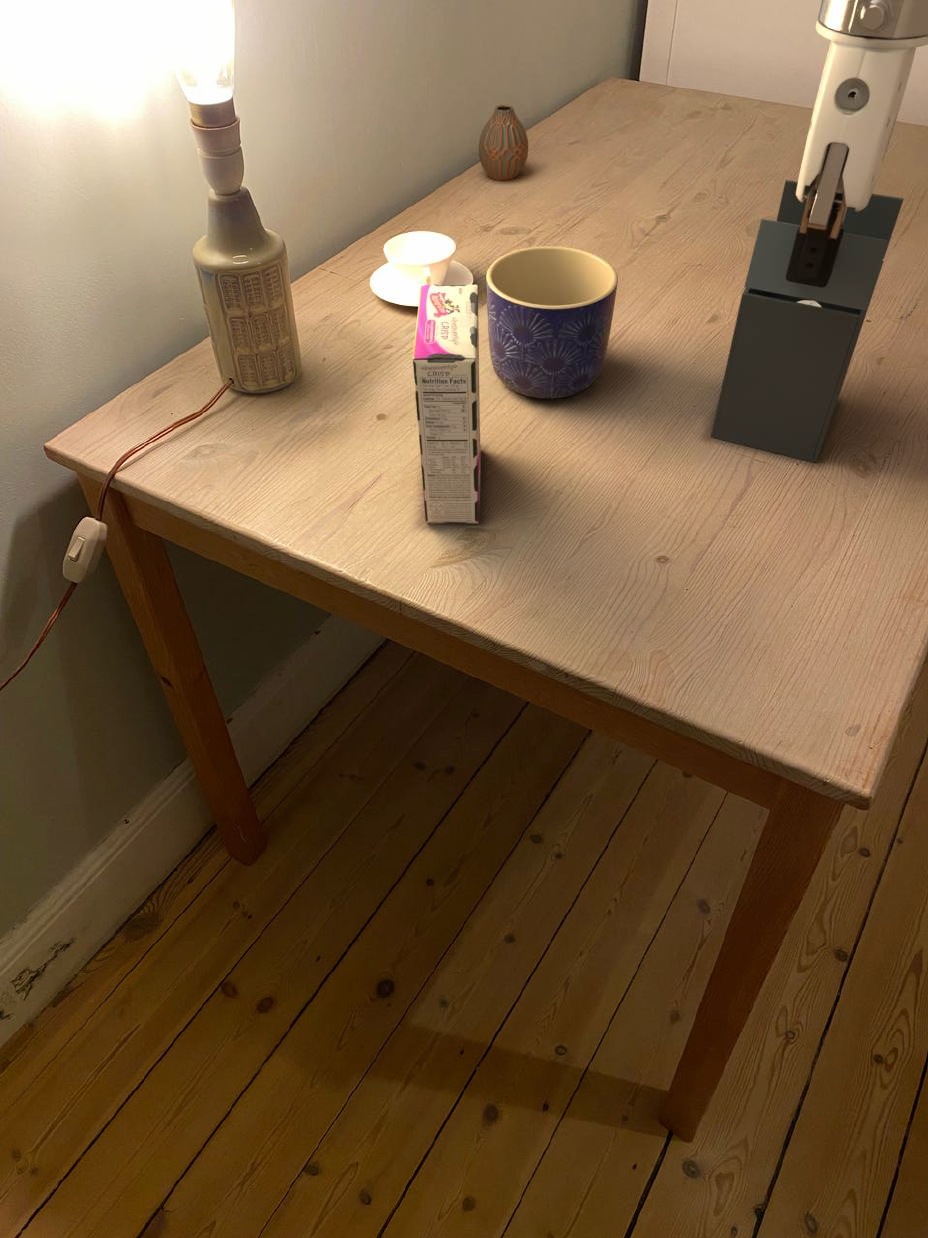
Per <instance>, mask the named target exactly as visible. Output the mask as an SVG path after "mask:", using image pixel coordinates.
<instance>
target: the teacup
mask: <svg viewBox="0 0 928 1238" xmlns="http://www.w3.org/2000/svg"><path fill="white" fill-rule="evenodd" d="M456 250H457V244H456V243H455V241H454V240H453V239H452V238H451V237H449V236H447V235H446V234H442V233H438V232H433V231H410V232H406V233H401V234H399V235H396V236H394V237H391V239H389V240H388V241H387V242H386V243H384V248H383V252H384V255H385V257H386V259H387V261H388V262H387V263H386V264H384V265H382V266H380V267H379V268H377V269H376V270H375V271H374V272H373V274H372V275H371V277H370V278H369V286H370V289H371V290H372V292H373V293H374V294H375V295H376V296H377V297H379V299H382V300H384V301H386V302H389V303H393V304H396V305H400V306H407V307H418V305H419V292H420V286H424V285H432V284H436V285H439V286H441V285H474V284H473V283H474V277H473V273H472V271H470V269H469V268H468V267H466V266H465V265H464V264H462V263H460V262H458V261H456V260H453V258H454V256H455V253H456V252H457V251H456Z"/></svg>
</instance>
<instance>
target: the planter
mask: <svg viewBox="0 0 928 1238" xmlns="http://www.w3.org/2000/svg"><path fill="white" fill-rule="evenodd" d="M485 278H486V279H485V280H486V304H487V305H486V306H487V307H486V308H487V309H486V310H487V333H488V347H489V354H490V355H489V356H490V361H491V365H492V368H493V371H494V373H495V375H496V377H497V378H498V379H499V380H500V382H502V384H503V385H505V386H506V387H508V388H509V389H511V390H512V391H514V392H516V393H518V394H521V395H524V396H526V397H530V398H536V399H537V398H538V399H559V398H565V397H570V396H572V395H576V394H578V393H580V392H581V391H583V390H585V389H587V388H589V387H590V385H592V384H593V383H594V382H595V381H596V379H597V378H598V376H599V375H600V373H601V371H602V368H603V366H604V362H605V359H606V356H607V351H608V347H609V342H610V341H609V340H610V336H611V329H612V322H613V317H614V310H615V304H616V297H617V289H618V285H619V284H618V283H619V275H618V273H617V270H616V268H615V267H614V266H613V265H612V264H611V263H610V262H608V261H607V260H606V259H604V258H603V257H601V256H599V255H597V254H595V253H593V252H590V251H587V250H583V249H580V248H575V247H570V246H559V245H541V246H530V247H525V248H520V249H516V250H513V251H511V252H508V253H506V254H504V255H502V256H499V258H497V259H496V260H495V261H493V262H492V263H491V265H490V266H489V267H488V269H487V271H486V277H485Z"/></svg>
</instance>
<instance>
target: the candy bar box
mask: <svg viewBox="0 0 928 1238" xmlns="http://www.w3.org/2000/svg"><path fill="white" fill-rule="evenodd" d="M417 307H418V308H417V317H416V323H415V324H416V325H415V334H414V342H413V351H412V366H413V379H414V389H415V390H414V391H415V393H414V395H415V406H416V419H417V430H418V431H417V432H418V437H419V438H418V440H419V441H418V442H419V451H420V453H419V454H420V465H421V478H422V479H421V480H422V493H423V505H424V506H423V507H424V519H425V520H424V521H425V523H426V524H430V525H452V524H453V525H454V524H455V525H456V524H461V525H478V524H480V512H481V511H480V509H481V508H480V507H481V506H480V505H481V470H482V469H481V468H482V467H481V465H482V464H481V459H482V458H481V455H482V453H481V450H482V449H481V447H482V445H481V412H480V411H481V408H480V406H481V405H480V401H481V400H480V333H479V331H480V329H479V326H480V325H479V322H480V321H479V286H478V284H472V285H441V286H439V285H436V284H432V285H424V286H420V292H419V305H418V306H417Z"/></svg>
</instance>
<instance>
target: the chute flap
mask: <svg viewBox="0 0 928 1238" xmlns="http://www.w3.org/2000/svg"><path fill="white" fill-rule="evenodd" d="M758 226H759V227H758V231H757V235H756V238H755V243H754V246H753V250H752V255H751V258H750V261H749V266H748V269H747V274H746V278H745V282H744V285H743V287H744V288H751V289H757V290H762V291H767V292H772V293H777V294H782V295H787V296H793V297H798V298H803V299H808V300H813V301H818V302H824V303H829V304H834V305H839V306H844V307H849V308H854V309H860V310H865V311H866V309H867V306H868V303H869V300H870V297H871V294H872V291H873V288H874V285H875V282H876V279H877V276H878V273H879V270H880V267H881V264H882V261H884V259H885V257H884V255H885V256H886V254H885V252H886V253H887V251H886V249H887V250H888V248H887V246H888V247H889V245H888V243H889V244H890V242H889V240H884V239H878V238H872V237H866V236H860V235H854V234H848V233H843V236H842V240H841V243H840V246H839V250H838V253H837V257H836V260H835V264H834V267H833V270H832V274H831V277H830V279H829V281H828V284H827V286H825V287H823V288H821V287H815V286H810V285H805V284H799V283H794V282H789V281H787V280H786V273H787V269H788V265H789V261H790V257H791V253H792V249H793V245H794V242H795V238H796V234H797V230H798V228H799V227H800V225H796V224H790V223H784V222H778V221H777V220H771V219H766V218H761V219H760V223H759V225H758ZM883 258H884V259H883Z"/></svg>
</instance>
